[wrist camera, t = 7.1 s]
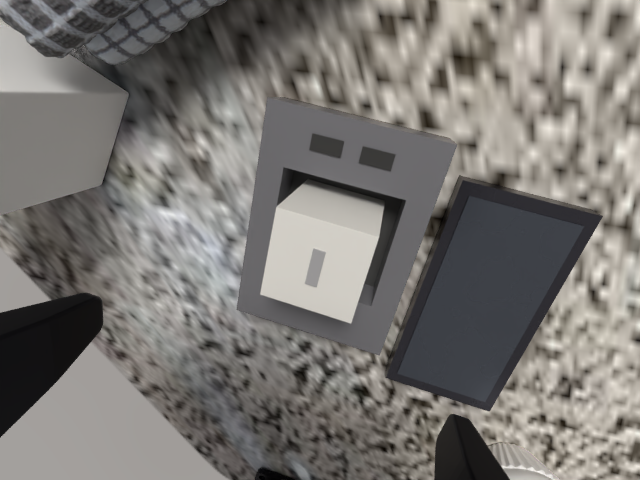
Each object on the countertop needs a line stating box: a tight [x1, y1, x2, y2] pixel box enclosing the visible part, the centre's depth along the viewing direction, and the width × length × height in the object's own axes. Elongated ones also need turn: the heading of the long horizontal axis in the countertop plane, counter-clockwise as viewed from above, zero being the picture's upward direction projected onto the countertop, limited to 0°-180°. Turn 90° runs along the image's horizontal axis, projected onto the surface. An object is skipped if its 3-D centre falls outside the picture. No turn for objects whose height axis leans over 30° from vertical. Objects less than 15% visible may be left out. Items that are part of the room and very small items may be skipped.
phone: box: [386, 175, 603, 411], centre depth 18 cm, size 12×6×1 cm, turn 168°
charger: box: [260, 179, 385, 323], centre depth 16 cm, size 4×4×5 cm
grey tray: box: [237, 97, 457, 355], centre depth 18 cm, size 11×8×2 cm
